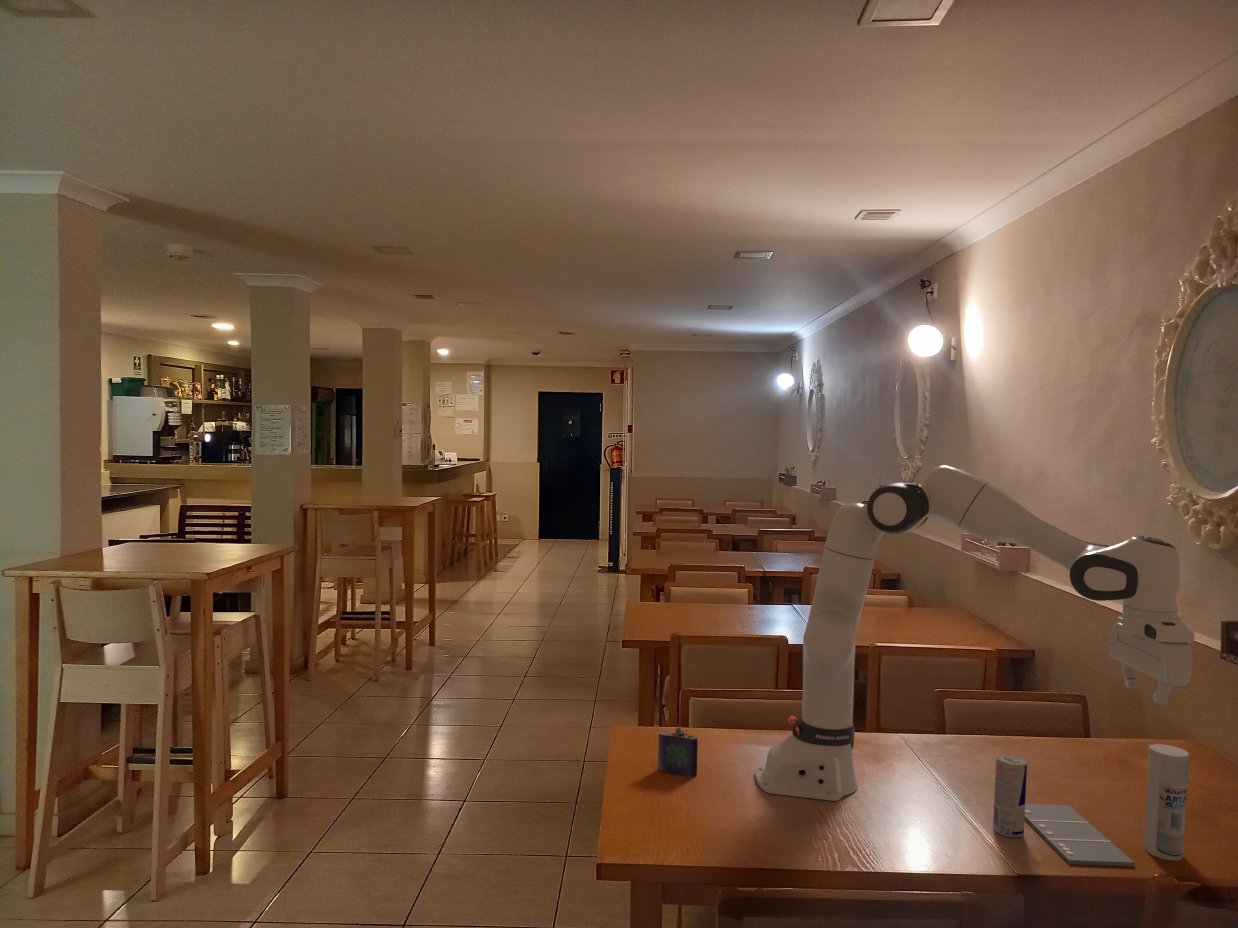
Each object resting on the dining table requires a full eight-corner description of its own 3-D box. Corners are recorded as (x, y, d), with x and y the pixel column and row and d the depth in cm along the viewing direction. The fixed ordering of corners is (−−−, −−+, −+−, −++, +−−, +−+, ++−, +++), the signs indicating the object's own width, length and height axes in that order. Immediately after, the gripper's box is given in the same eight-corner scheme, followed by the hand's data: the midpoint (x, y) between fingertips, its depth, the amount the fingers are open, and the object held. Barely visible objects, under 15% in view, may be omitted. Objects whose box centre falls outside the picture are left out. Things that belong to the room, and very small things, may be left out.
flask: (656, 772, 196) (657, 726, 196) (659, 767, 199) (661, 722, 198) (695, 778, 193) (697, 731, 193) (698, 773, 196) (700, 727, 195)
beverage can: (1027, 840, 167) (1030, 765, 167) (996, 837, 168) (1000, 762, 168) (1019, 827, 173) (1023, 754, 172) (990, 824, 174) (993, 752, 173)
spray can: (1166, 843, 168) (1171, 743, 167) (1192, 860, 161) (1197, 756, 160) (1135, 844, 167) (1141, 743, 166) (1160, 861, 160) (1166, 756, 160)
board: (1068, 863, 158) (1069, 859, 158) (1012, 806, 182) (1012, 802, 182) (1134, 866, 158) (1134, 861, 158) (1068, 808, 182) (1069, 804, 182)
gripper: (1102, 610, 172) (1098, 678, 172) (1165, 634, 151) (1160, 711, 152) (1133, 611, 172) (1129, 679, 172) (1201, 636, 151) (1196, 713, 152)
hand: (1144, 694), depth 162 cm, fingers open, 8 cm apart
